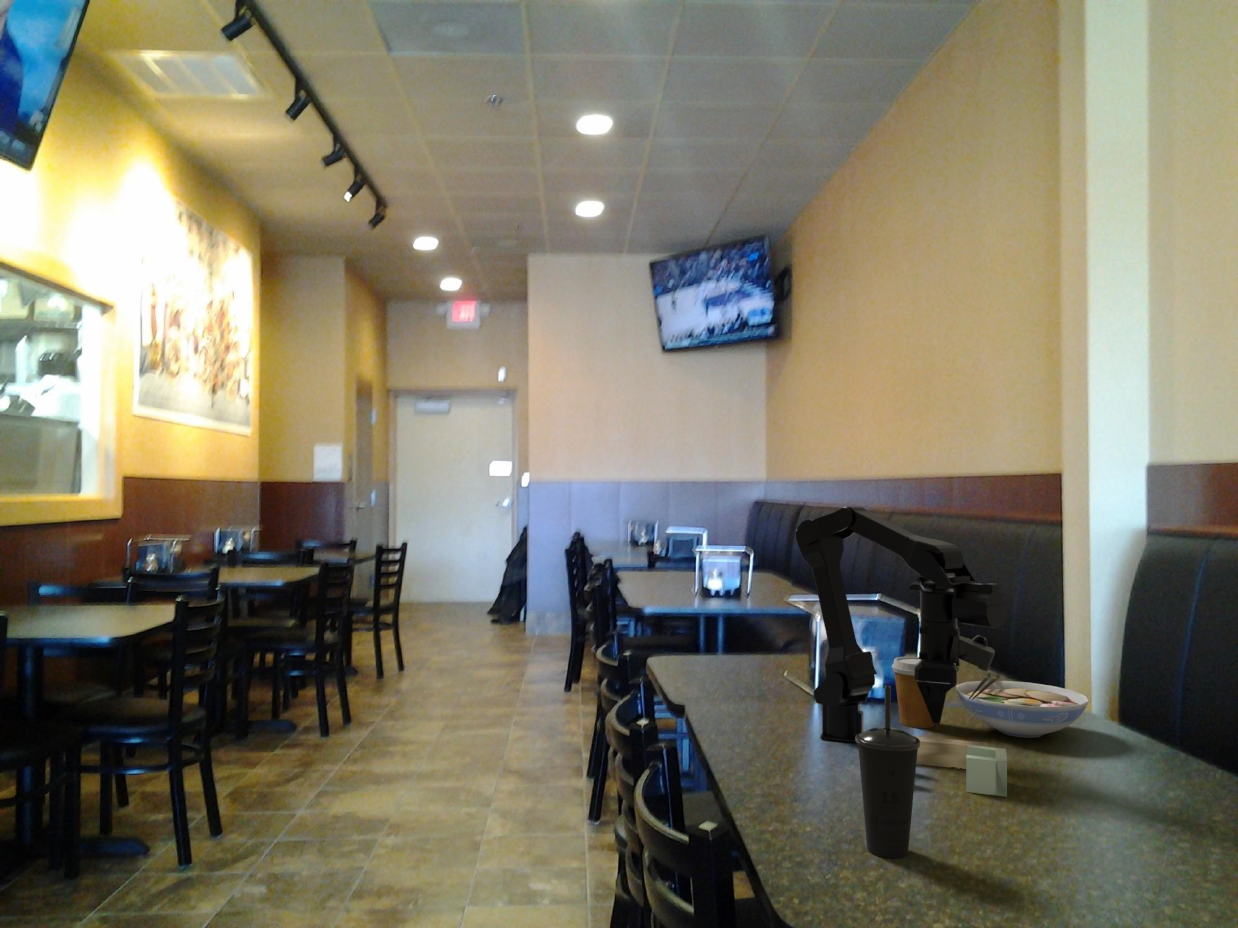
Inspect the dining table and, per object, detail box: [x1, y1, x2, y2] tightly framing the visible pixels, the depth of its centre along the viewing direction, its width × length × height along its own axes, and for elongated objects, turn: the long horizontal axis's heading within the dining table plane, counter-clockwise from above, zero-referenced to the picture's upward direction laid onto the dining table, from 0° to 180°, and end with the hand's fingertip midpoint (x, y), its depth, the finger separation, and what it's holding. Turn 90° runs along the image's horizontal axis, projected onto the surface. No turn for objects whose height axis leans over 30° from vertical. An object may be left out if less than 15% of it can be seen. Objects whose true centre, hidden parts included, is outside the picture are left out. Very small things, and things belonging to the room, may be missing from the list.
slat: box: [913, 735, 989, 770], centre depth 152 cm, size 15×3×4 cm, turn 70°
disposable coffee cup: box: [891, 656, 936, 729], centre depth 178 cm, size 10×10×12 cm
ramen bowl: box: [955, 672, 1090, 739], centre depth 173 cm, size 25×23×8 cm
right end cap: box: [965, 745, 1008, 798], centre depth 140 cm, size 6×8×5 cm
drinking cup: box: [855, 685, 920, 859], centre depth 115 cm, size 8×8×20 cm
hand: (938, 716), depth 153 cm, fingers open, 9 cm apart
